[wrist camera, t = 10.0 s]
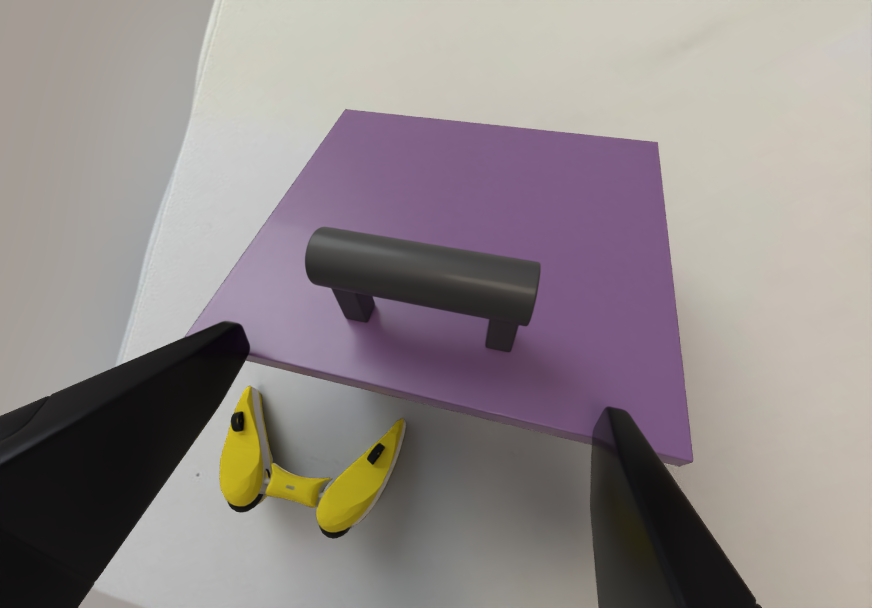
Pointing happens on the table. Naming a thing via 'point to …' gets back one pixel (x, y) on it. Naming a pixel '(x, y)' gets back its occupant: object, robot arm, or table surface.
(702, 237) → the table surface
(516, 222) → the lid
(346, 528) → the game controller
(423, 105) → the table surface
